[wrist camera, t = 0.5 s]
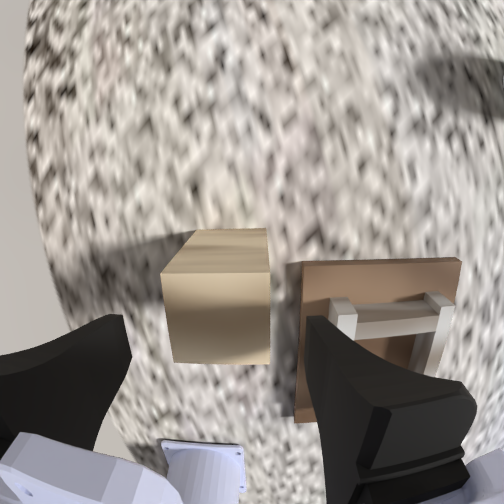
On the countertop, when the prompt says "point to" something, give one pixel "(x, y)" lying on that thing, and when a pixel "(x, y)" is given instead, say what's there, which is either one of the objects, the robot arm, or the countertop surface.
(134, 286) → the countertop surface
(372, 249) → the countertop surface
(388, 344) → the socket board
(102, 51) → the countertop surface
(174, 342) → the birch peg
